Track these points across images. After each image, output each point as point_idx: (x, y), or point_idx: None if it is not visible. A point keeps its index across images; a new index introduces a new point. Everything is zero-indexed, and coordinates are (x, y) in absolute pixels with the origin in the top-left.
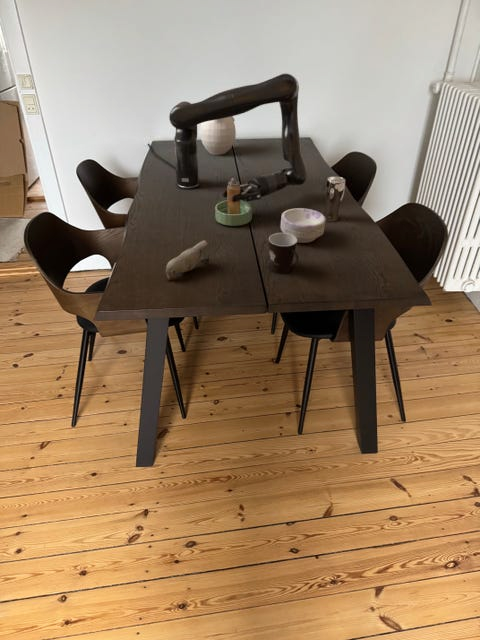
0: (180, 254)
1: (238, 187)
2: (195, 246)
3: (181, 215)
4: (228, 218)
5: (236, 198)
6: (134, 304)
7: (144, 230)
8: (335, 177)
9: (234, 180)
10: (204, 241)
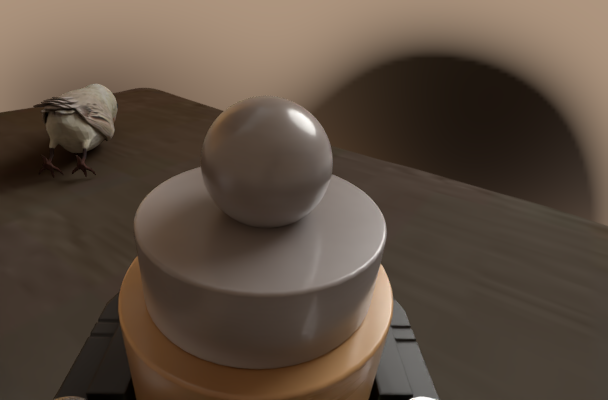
0: (96, 93)
1: (146, 296)
2: (67, 97)
3: (481, 290)
4: None
5: (112, 307)
6: (115, 96)
7: (386, 179)
8: None
9: (212, 128)
10: (46, 102)
